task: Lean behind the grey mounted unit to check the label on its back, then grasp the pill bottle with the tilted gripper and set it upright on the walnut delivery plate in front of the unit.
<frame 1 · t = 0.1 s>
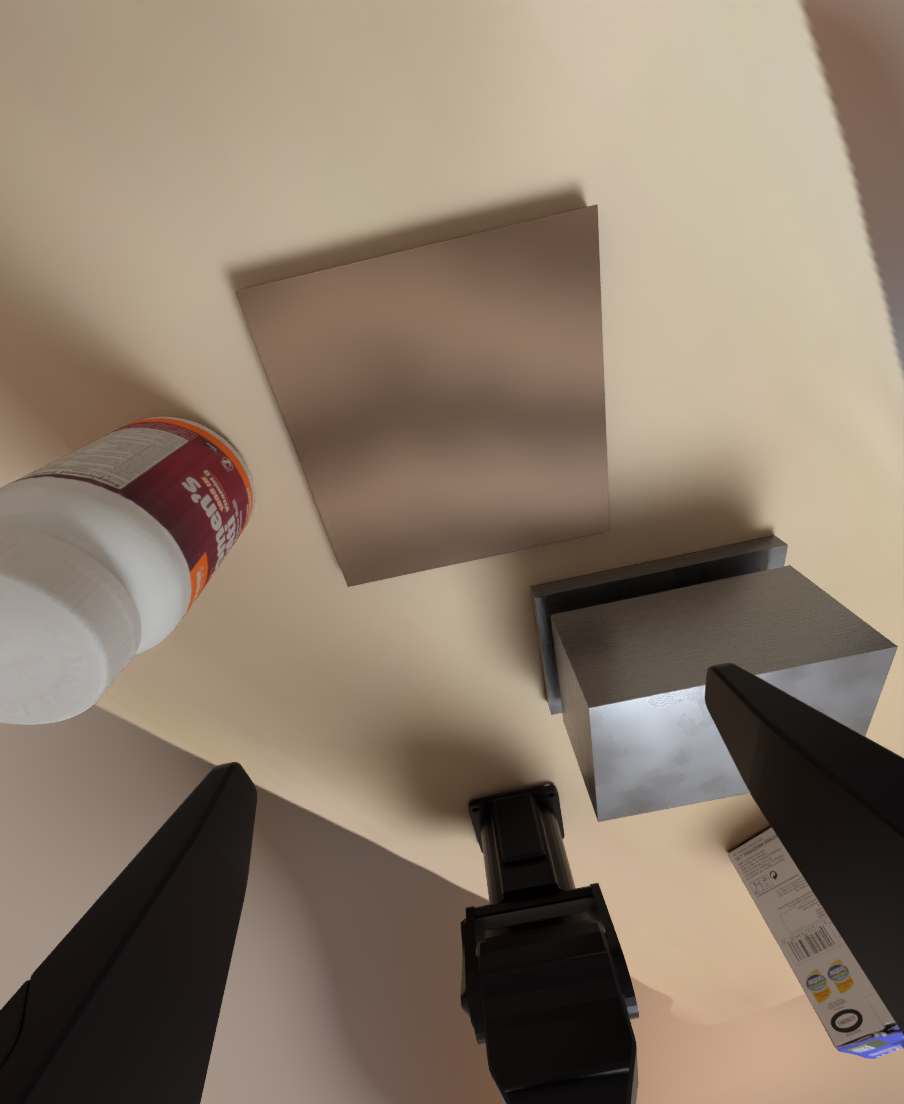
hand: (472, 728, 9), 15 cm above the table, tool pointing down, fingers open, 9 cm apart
delivery plate: (449, 423, 21), on the table
mounted unit: (650, 626, 27), on the table
pill bottle: (187, 480, 21), on the table
ink cartridge box: (787, 830, 40), on the table
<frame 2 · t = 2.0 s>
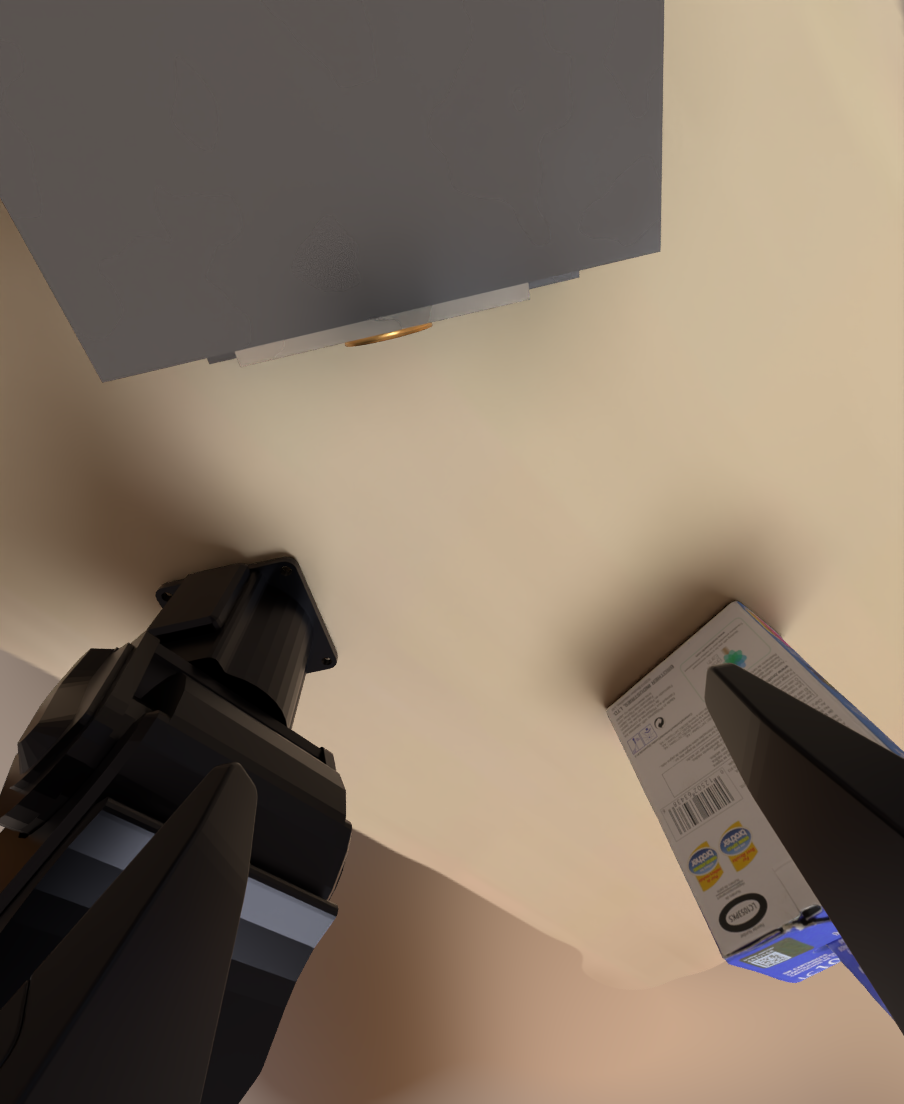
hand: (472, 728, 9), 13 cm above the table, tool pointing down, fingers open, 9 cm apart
mounted unit: (355, 163, 15), on the table
ink cartridge box: (690, 674, 28), on the table
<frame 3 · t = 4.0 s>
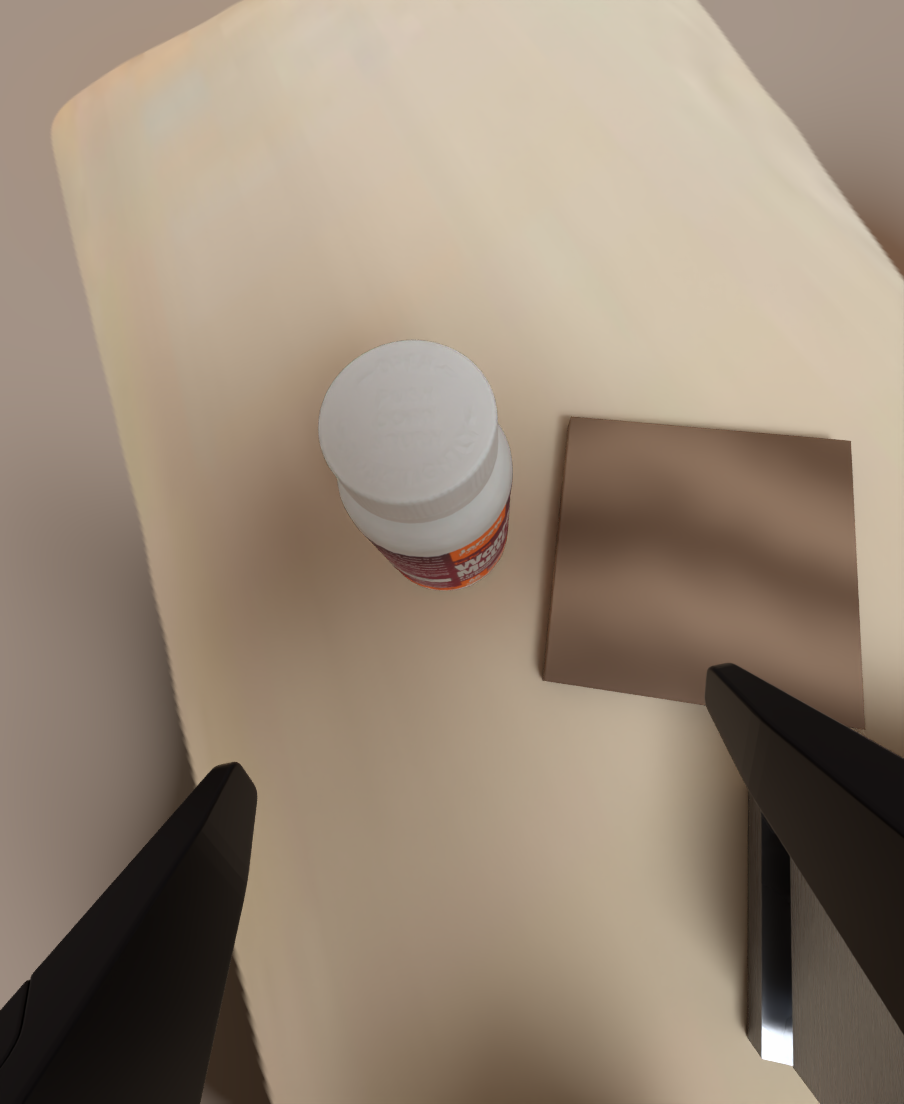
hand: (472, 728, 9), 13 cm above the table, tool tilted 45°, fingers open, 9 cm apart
delivery plate: (693, 561, 23), on the table
pill bottle: (446, 533, 24), on the table
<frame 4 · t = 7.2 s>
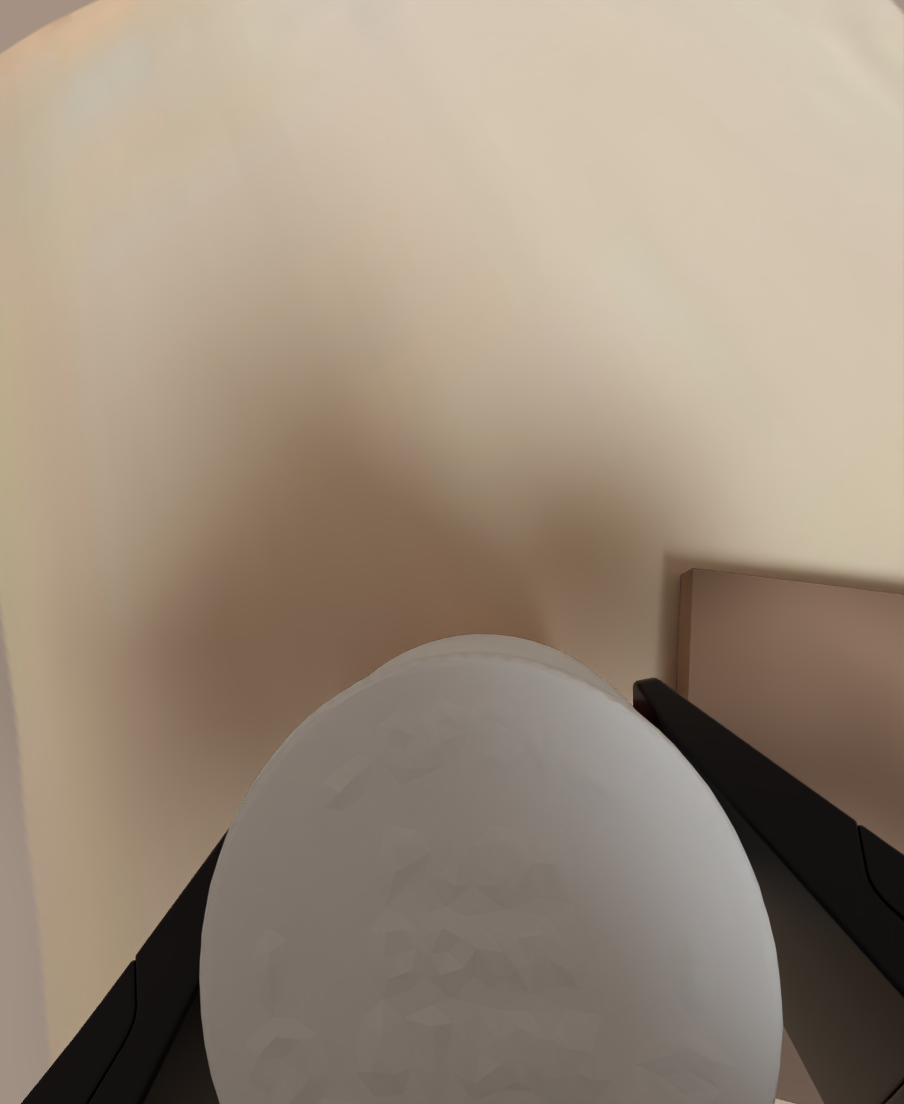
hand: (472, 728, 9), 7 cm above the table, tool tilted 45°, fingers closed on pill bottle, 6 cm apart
pill bottle: (490, 750, 15), on the table, touching gripper
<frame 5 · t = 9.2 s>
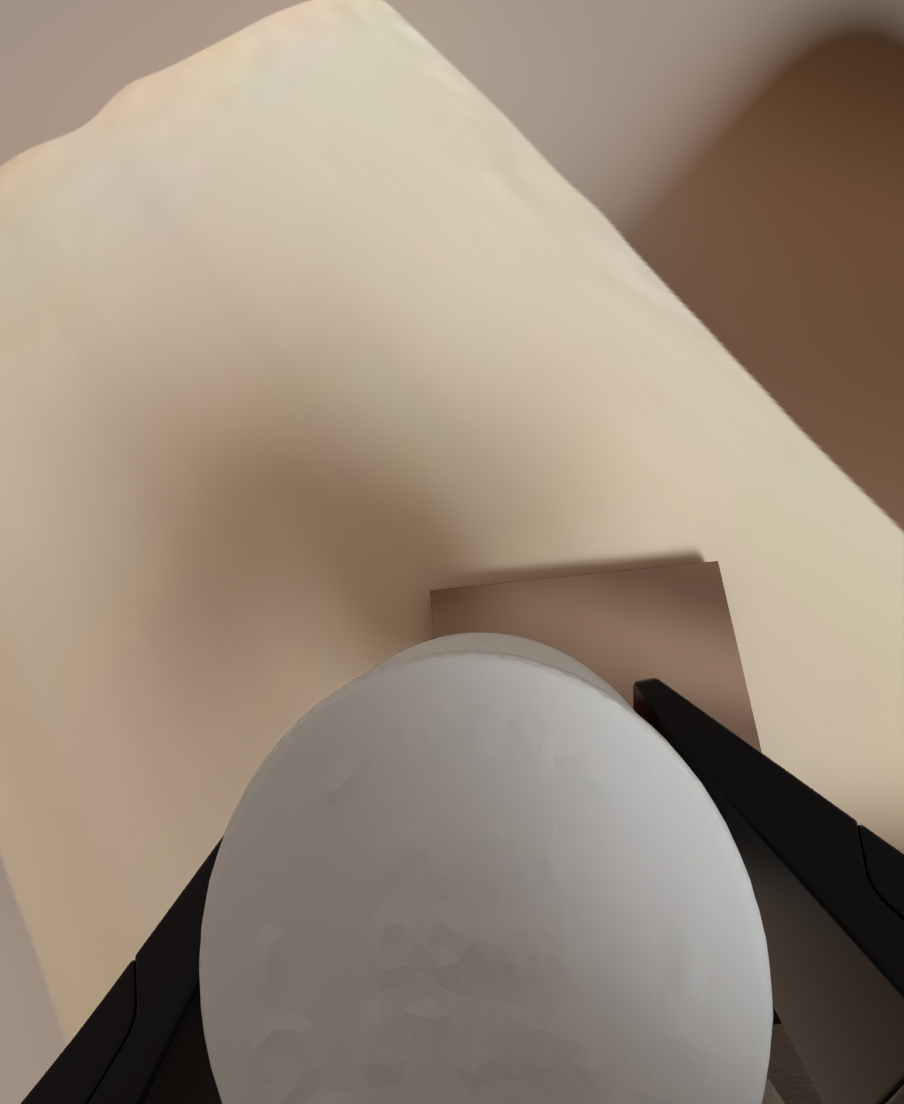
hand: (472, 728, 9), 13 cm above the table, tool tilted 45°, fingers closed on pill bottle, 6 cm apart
delivery plate: (589, 723, 21), on the table
pill bottle: (489, 748, 15), point 6 cm above the table, touching gripper
when the fingers open (9 cm above the table, at t = 11.5 s): pill bottle drops 1 cm, resting on delivery plate.
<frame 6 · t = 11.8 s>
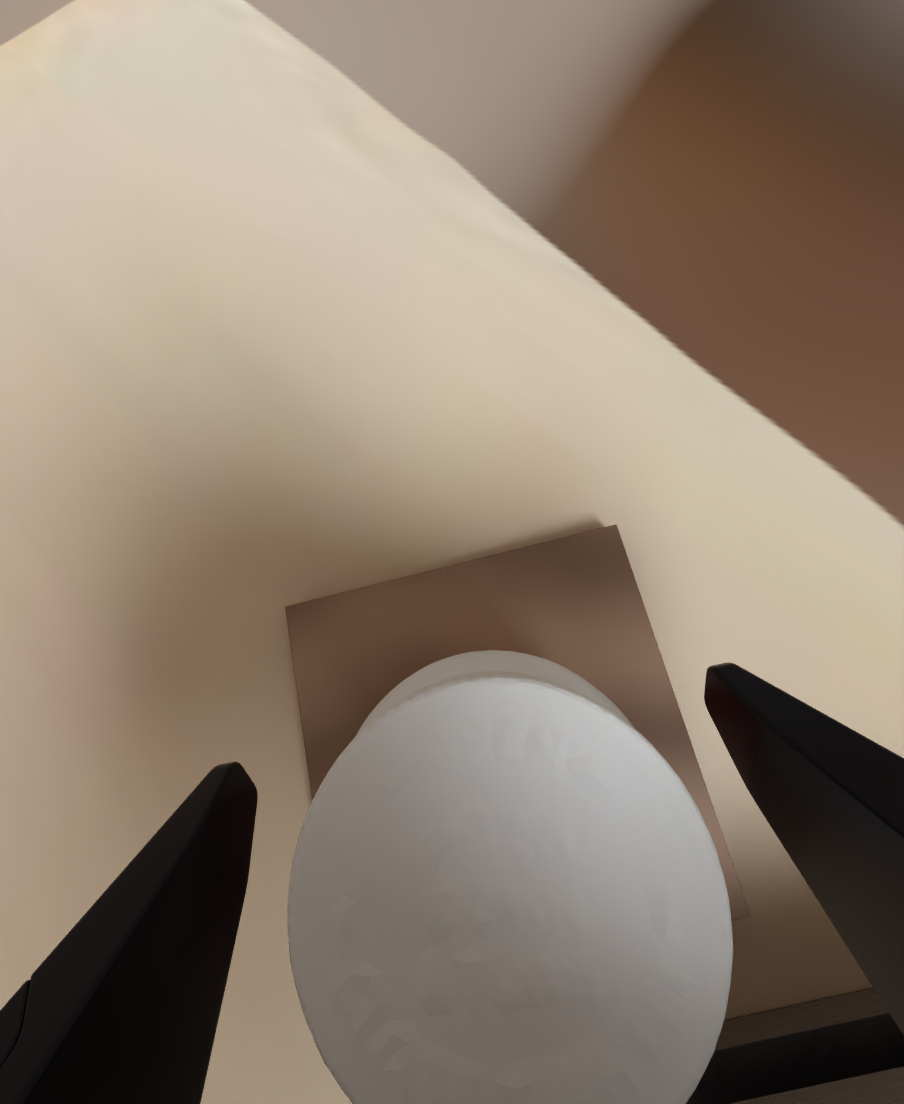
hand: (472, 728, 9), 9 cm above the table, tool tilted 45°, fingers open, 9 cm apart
delivery plate: (491, 740, 17), on the table
pill bottle: (492, 749, 16), point 1 cm above the table, touching delivery plate
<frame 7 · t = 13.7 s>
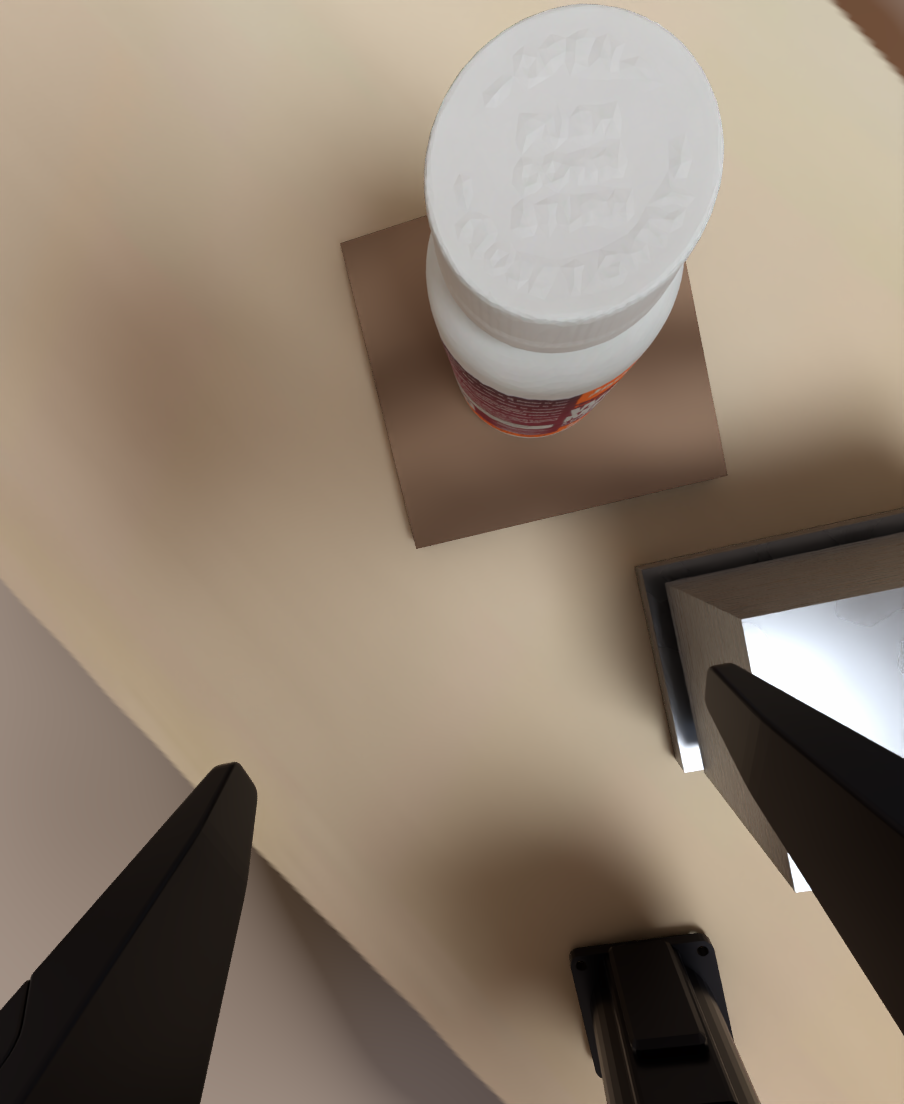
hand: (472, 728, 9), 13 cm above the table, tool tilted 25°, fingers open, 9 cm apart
delivery plate: (529, 364, 20), on the table
mounted unit: (811, 634, 20), on the table
pill bottle: (531, 364, 19), point 1 cm above the table, touching delivery plate
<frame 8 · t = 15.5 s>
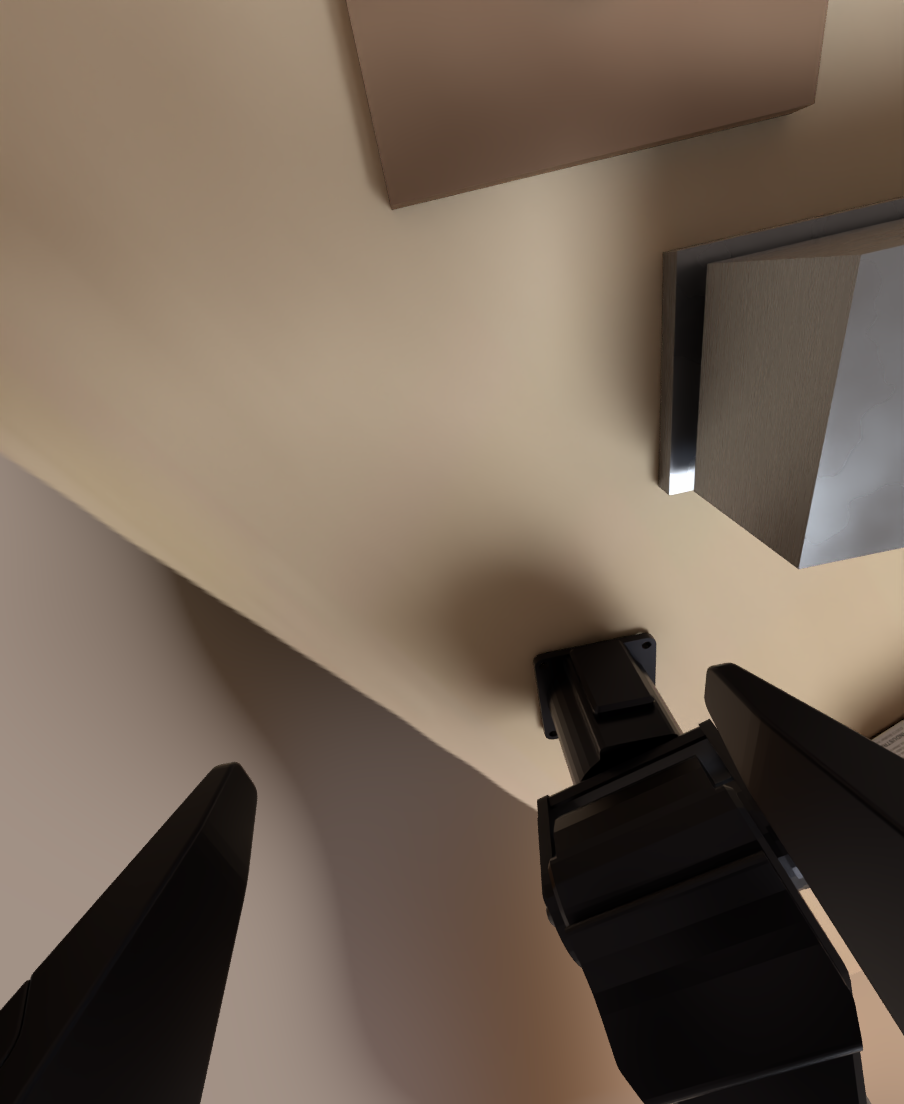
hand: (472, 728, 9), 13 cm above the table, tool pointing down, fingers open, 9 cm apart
mounted unit: (824, 346, 19), on the table
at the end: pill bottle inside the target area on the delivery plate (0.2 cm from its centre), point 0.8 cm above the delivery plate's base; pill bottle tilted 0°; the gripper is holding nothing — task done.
